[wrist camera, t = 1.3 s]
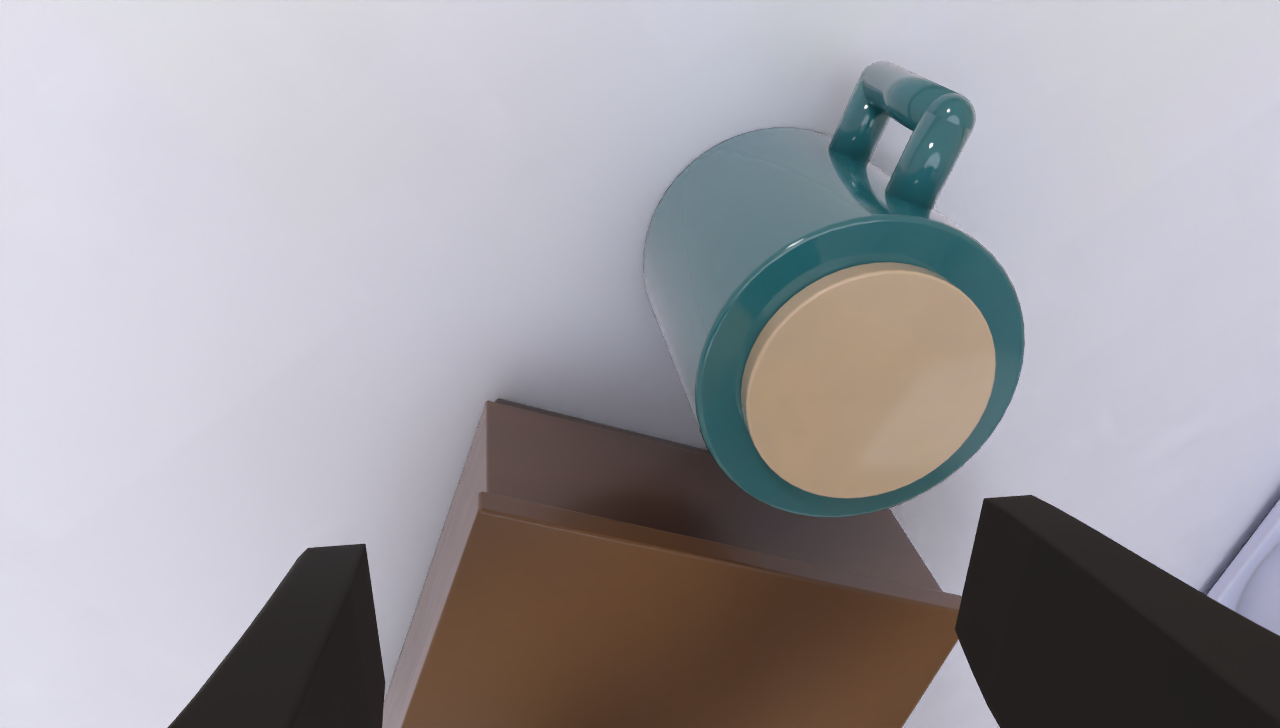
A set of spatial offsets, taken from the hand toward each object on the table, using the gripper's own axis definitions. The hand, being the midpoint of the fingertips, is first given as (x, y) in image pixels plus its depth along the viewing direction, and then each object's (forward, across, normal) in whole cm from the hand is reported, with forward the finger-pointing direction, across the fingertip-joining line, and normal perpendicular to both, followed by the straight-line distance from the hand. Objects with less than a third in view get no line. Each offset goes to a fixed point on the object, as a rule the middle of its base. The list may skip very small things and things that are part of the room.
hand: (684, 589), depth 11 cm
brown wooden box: (+10, 0, +8) cm, 13 cm away
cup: (+10, -4, 0) cm, 10 cm away
